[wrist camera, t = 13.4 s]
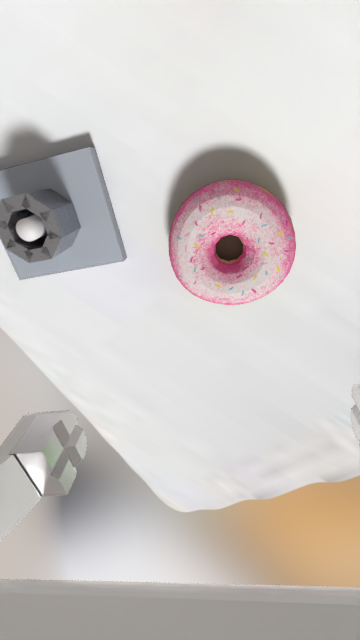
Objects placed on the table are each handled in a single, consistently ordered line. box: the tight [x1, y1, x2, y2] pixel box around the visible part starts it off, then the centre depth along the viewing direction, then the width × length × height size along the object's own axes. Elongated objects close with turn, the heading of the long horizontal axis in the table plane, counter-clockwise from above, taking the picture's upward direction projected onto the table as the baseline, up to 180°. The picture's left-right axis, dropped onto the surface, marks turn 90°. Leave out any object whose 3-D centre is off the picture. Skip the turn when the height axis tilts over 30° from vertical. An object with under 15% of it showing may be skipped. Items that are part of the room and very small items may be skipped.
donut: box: [169, 180, 296, 305], centre depth 33 cm, size 14×13×5 cm
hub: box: [0, 188, 81, 263], centre depth 33 cm, size 6×6×5 cm
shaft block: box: [0, 147, 127, 280], centre depth 33 cm, size 14×12×6 cm
